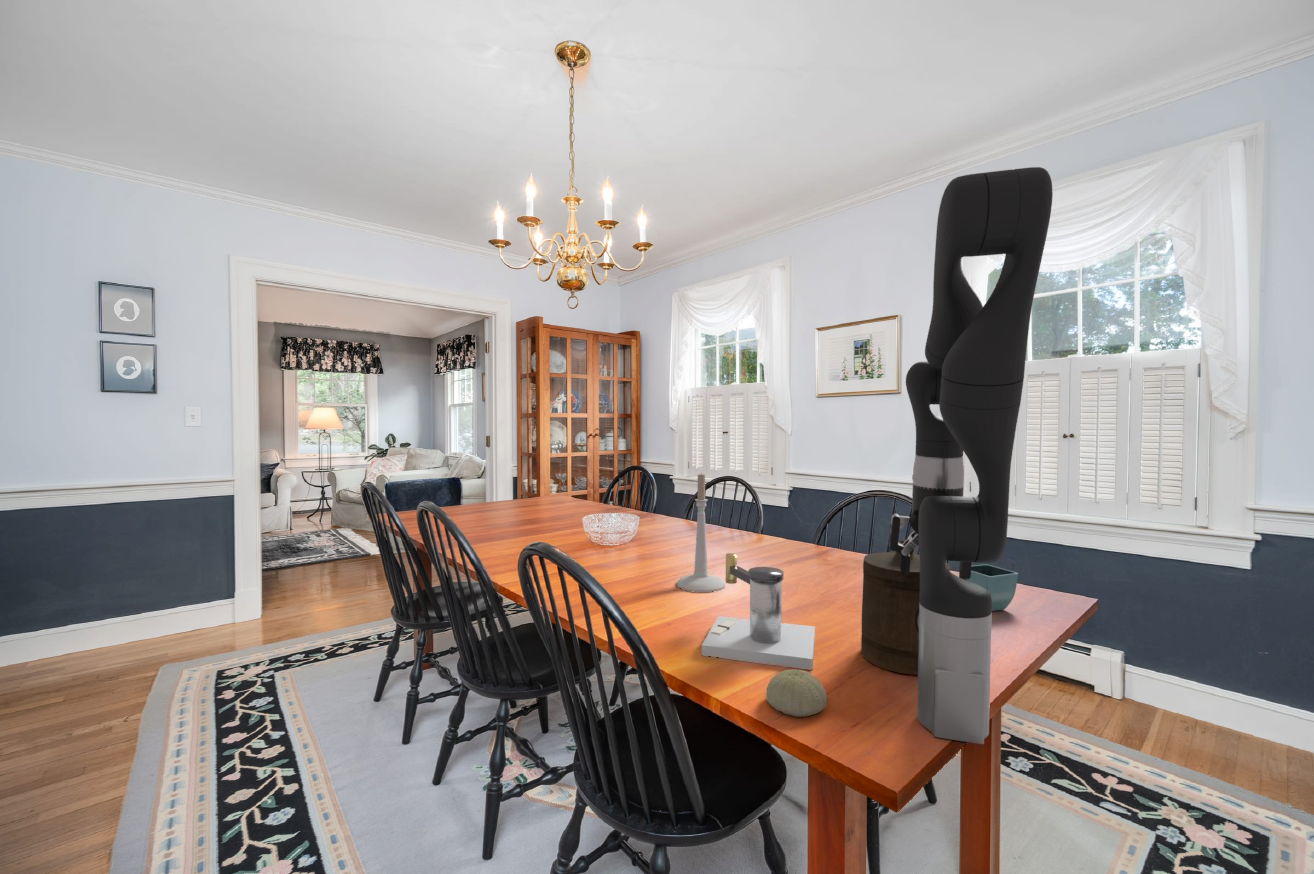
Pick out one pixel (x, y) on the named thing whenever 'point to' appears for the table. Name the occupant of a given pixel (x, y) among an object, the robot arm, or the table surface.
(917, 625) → the wooden container
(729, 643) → the stand
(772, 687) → the sea urchin shell
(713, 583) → the candlestick
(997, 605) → the flower pot
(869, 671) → the table surface
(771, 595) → the capstan
